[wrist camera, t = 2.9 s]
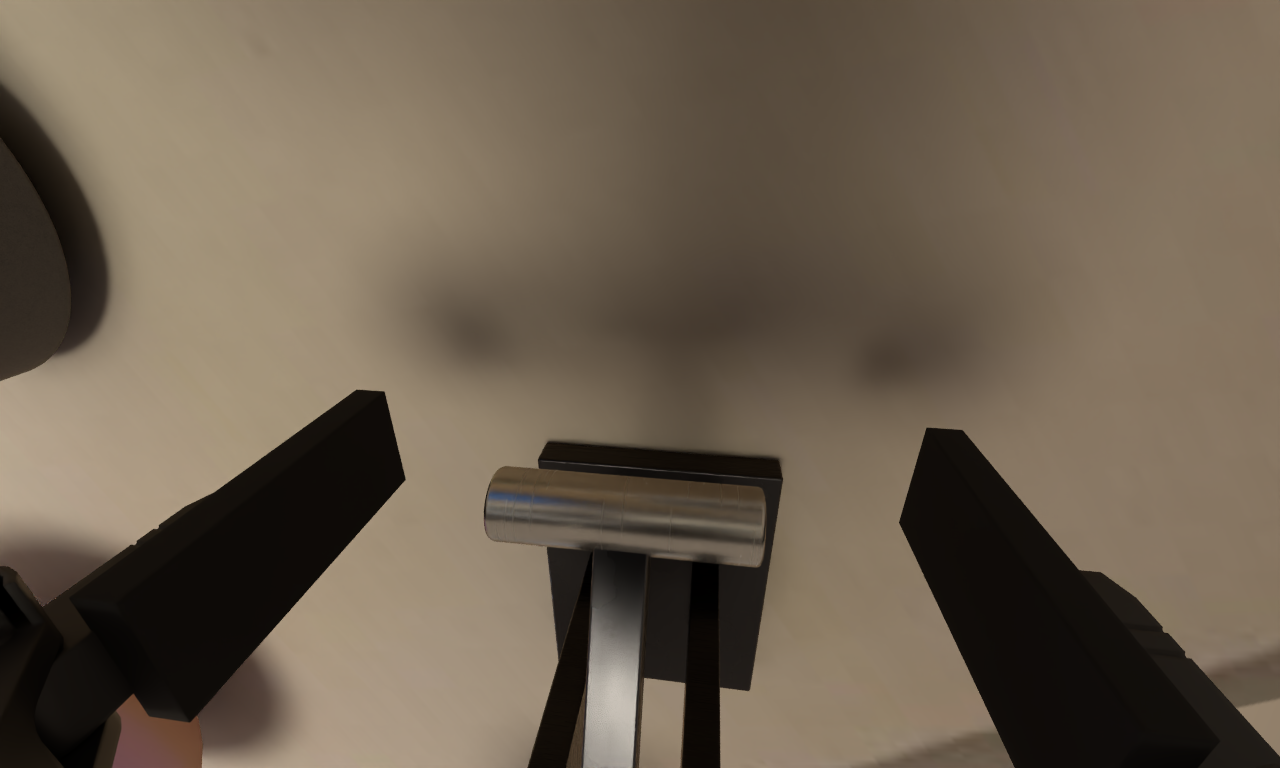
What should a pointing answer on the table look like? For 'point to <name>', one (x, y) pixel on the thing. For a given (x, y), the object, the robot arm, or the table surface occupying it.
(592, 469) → the bracket
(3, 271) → the planter
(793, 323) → the table surface
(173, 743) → the ball
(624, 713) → the lever
